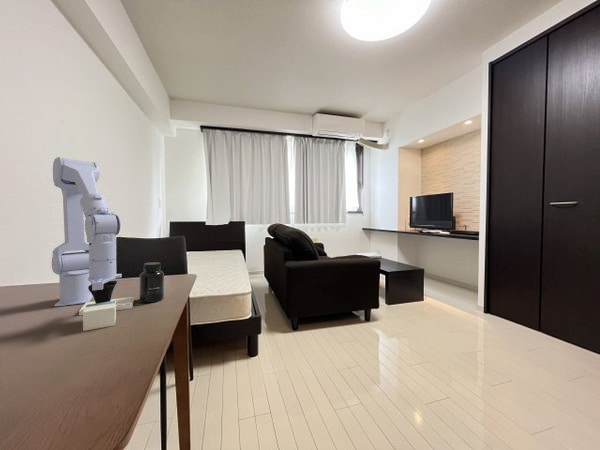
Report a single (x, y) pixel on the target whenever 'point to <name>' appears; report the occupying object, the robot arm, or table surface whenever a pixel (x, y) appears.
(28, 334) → the table surface
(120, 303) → the ticket
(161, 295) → the supplement bottle
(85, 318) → the teal striped cube
